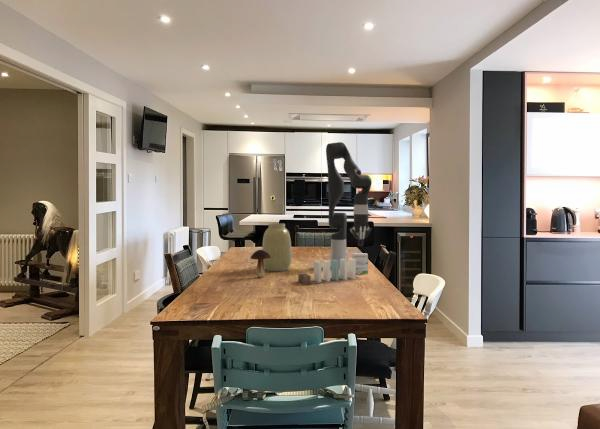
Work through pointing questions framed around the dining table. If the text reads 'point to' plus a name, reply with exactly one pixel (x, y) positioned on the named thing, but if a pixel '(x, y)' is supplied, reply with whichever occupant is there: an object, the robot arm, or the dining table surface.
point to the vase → (277, 247)
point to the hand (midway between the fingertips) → (360, 246)
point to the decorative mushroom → (260, 261)
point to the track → (306, 280)
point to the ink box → (361, 262)
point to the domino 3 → (335, 270)
